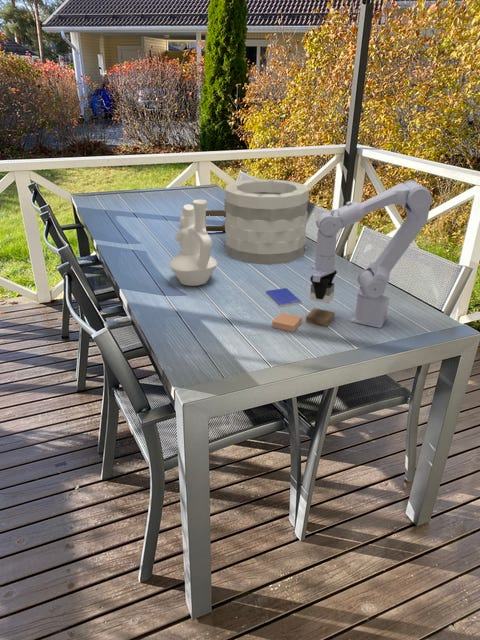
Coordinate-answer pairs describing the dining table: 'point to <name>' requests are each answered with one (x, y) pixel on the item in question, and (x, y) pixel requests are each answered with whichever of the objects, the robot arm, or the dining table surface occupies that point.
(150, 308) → the dining table surface
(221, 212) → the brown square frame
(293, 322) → the stand
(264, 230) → the storage basket
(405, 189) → the robot arm
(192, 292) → the dining table surface
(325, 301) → the block
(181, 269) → the double spout vessel
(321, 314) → the stand
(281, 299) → the hard drive
